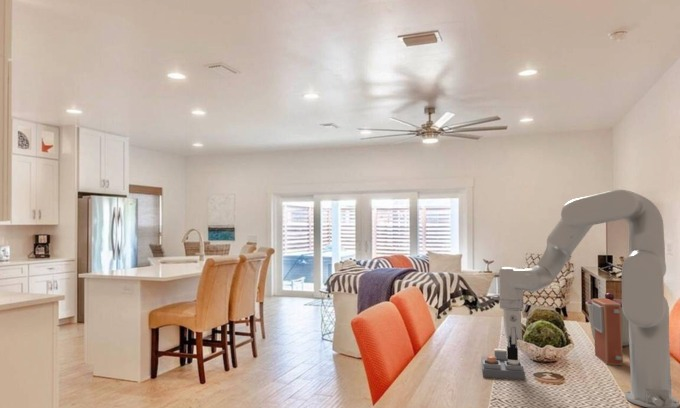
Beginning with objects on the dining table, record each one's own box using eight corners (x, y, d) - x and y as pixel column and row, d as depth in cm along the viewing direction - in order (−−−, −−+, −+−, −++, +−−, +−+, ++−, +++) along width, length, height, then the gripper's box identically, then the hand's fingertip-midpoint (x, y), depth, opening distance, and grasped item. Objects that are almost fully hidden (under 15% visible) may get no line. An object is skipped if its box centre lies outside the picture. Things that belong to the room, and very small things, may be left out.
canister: (628, 339, 201) (626, 290, 202) (644, 350, 184) (642, 296, 185) (582, 337, 206) (580, 289, 207) (593, 348, 188) (591, 295, 189)
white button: (519, 365, 154) (519, 360, 154) (508, 364, 155) (508, 360, 155) (518, 362, 157) (518, 358, 157) (508, 362, 158) (507, 357, 158)
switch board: (524, 379, 151) (524, 367, 152) (483, 376, 155) (482, 365, 155) (519, 366, 166) (519, 355, 166) (481, 363, 169) (481, 353, 169)
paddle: (507, 359, 165) (506, 350, 165) (494, 359, 166) (494, 350, 166) (506, 358, 167) (506, 349, 167) (494, 357, 168) (494, 348, 168)
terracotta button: (496, 363, 156) (496, 358, 156) (486, 362, 157) (486, 358, 157) (496, 360, 159) (496, 356, 159) (486, 360, 160) (486, 355, 160)
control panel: (611, 354, 178) (626, 366, 164) (591, 354, 180) (605, 365, 165) (608, 298, 180) (624, 304, 165) (589, 297, 181) (602, 304, 166)
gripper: (526, 308, 149) (527, 366, 148) (520, 300, 163) (522, 353, 163) (501, 307, 151) (502, 364, 150) (498, 299, 165) (499, 352, 165)
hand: (512, 359), depth 156 cm, fingers closed
